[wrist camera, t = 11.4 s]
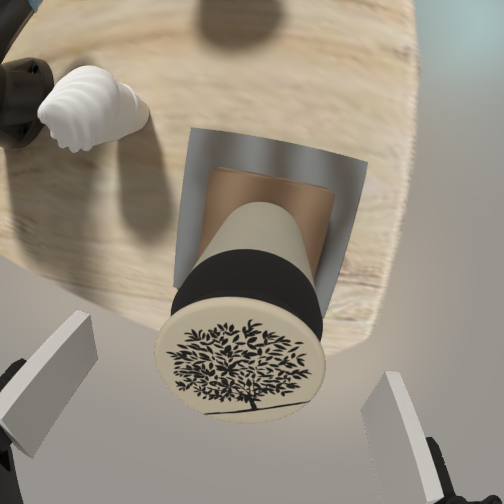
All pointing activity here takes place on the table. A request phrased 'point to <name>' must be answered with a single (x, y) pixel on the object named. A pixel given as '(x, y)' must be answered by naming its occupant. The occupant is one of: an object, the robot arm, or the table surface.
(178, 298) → the travel mug
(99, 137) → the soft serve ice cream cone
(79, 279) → the table surface
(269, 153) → the base
